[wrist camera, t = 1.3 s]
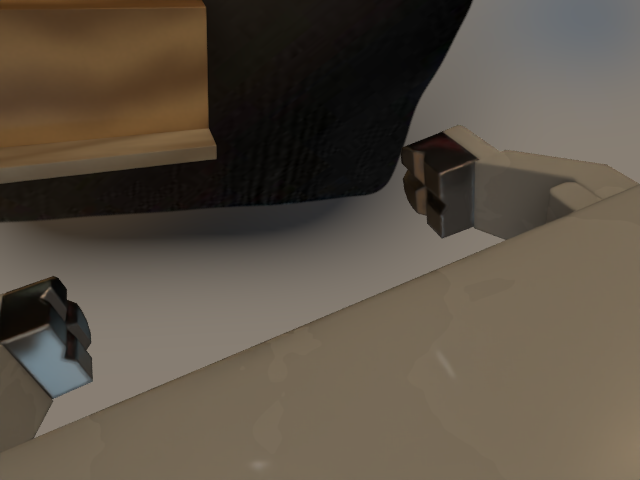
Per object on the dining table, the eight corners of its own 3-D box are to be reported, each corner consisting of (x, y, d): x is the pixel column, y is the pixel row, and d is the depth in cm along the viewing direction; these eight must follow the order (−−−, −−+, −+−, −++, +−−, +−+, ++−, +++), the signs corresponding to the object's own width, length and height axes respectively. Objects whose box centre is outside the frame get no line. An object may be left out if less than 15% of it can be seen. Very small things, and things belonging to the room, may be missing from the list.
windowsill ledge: (-208, -29, 30) (-260, 31, 24) (186, -25, 37) (215, 21, 32) (-129, 127, 36) (-155, 201, 31) (192, 103, 44) (216, 159, 39)
